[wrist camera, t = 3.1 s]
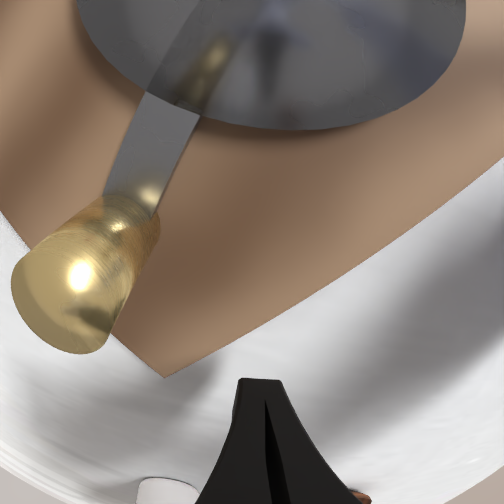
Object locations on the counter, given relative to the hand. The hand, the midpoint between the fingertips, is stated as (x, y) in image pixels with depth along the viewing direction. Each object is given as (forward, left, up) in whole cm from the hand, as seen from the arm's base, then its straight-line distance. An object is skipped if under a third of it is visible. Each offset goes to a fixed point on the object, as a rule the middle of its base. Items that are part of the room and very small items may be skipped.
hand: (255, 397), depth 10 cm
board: (+11, -9, -3) cm, 15 cm away
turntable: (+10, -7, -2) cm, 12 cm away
